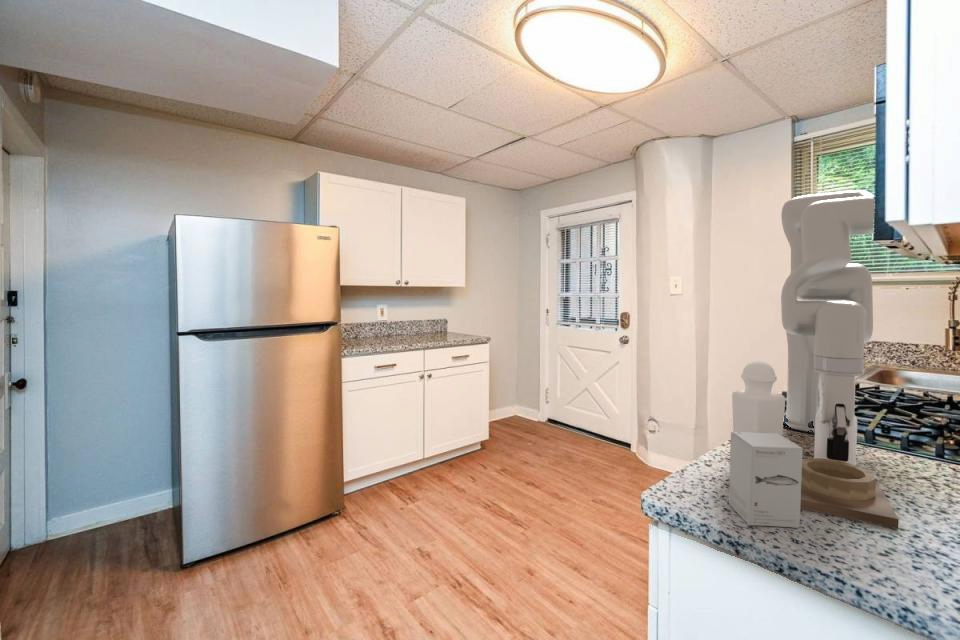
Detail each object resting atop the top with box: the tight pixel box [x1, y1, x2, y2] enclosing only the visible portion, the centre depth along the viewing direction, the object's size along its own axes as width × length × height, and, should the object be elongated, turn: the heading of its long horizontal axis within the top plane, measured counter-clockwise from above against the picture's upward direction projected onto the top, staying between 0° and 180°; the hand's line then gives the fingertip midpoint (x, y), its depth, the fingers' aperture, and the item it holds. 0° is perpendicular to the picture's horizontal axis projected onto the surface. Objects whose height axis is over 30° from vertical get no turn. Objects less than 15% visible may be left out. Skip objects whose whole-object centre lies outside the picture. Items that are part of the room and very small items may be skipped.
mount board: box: [800, 457, 900, 530], centre depth 75 cm, size 18×13×4 cm
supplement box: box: [728, 431, 804, 529], centre depth 68 cm, size 7×7×13 cm
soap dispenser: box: [731, 360, 786, 436], centre depth 86 cm, size 6×6×22 cm
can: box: [813, 410, 858, 466], centre depth 86 cm, size 6×6×12 cm
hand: (834, 452), depth 86 cm, fingers closed on can, 6 cm apart
